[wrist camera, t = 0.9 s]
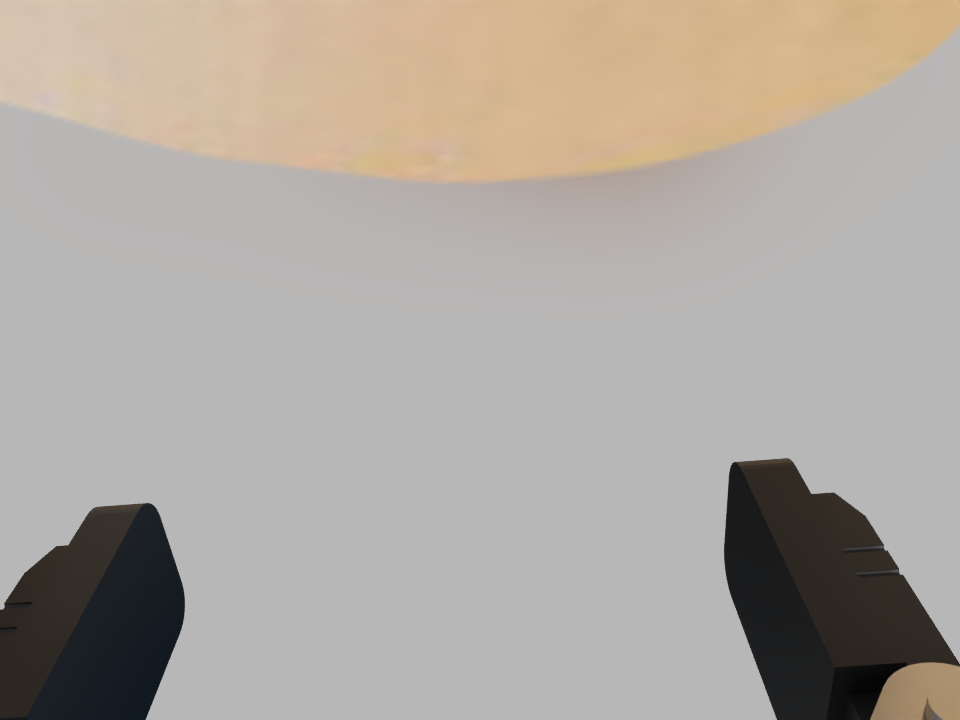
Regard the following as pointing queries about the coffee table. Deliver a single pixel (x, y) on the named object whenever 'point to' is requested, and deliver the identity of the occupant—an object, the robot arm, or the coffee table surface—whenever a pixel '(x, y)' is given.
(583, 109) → the coffee table surface
